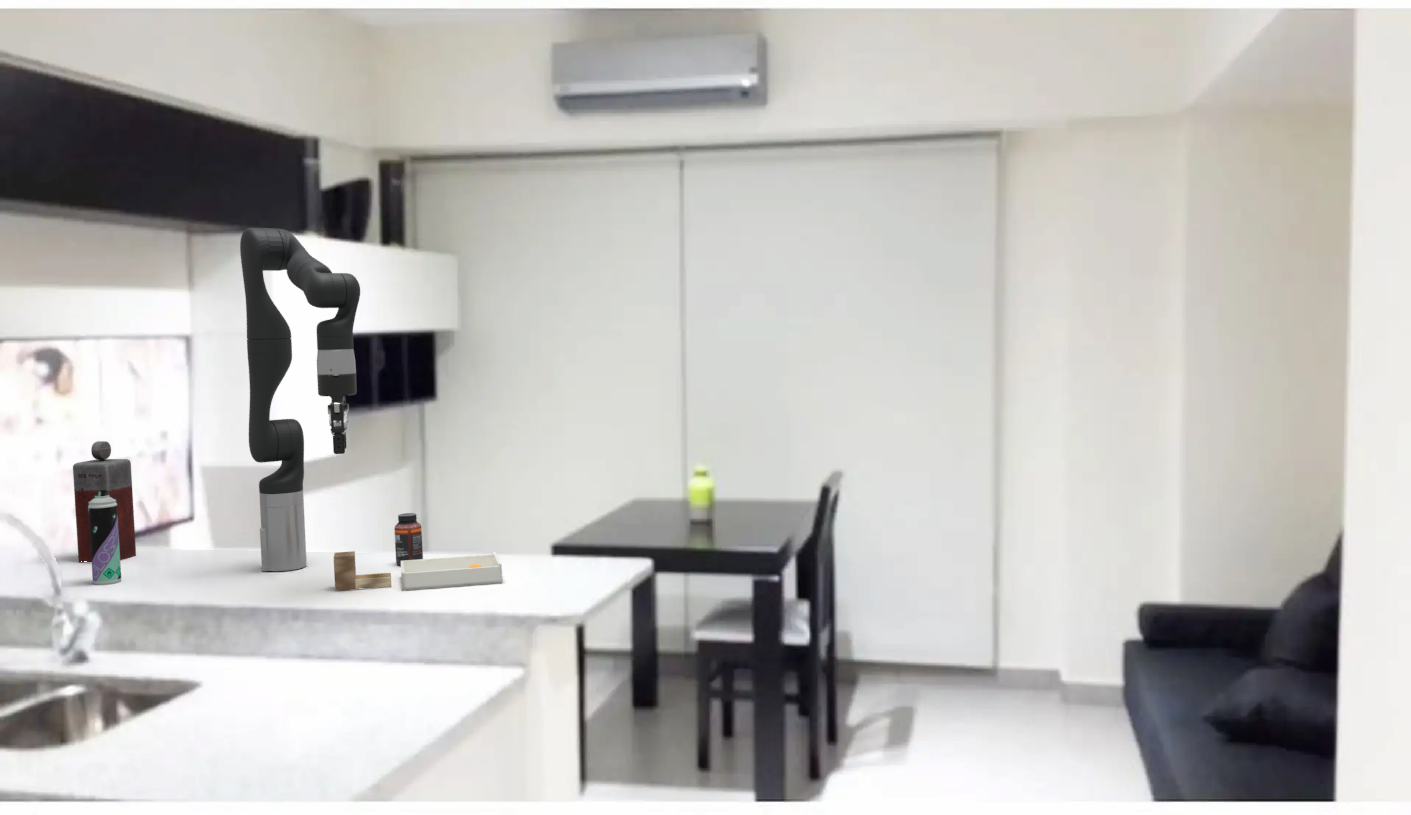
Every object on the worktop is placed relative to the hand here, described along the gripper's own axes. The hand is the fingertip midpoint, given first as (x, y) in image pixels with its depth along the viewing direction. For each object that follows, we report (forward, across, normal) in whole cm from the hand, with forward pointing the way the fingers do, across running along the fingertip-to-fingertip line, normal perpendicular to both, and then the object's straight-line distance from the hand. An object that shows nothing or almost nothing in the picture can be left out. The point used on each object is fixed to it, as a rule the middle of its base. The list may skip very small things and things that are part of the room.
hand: (340, 451), depth 244 cm
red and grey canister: (+28, -55, -57) cm, 84 cm away
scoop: (+28, 0, +3) cm, 28 cm away
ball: (+26, +4, +26) cm, 37 cm away
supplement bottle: (+28, -21, +13) cm, 38 cm away
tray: (+28, 0, +21) cm, 35 cm away
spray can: (+28, -25, -50) cm, 63 cm away
